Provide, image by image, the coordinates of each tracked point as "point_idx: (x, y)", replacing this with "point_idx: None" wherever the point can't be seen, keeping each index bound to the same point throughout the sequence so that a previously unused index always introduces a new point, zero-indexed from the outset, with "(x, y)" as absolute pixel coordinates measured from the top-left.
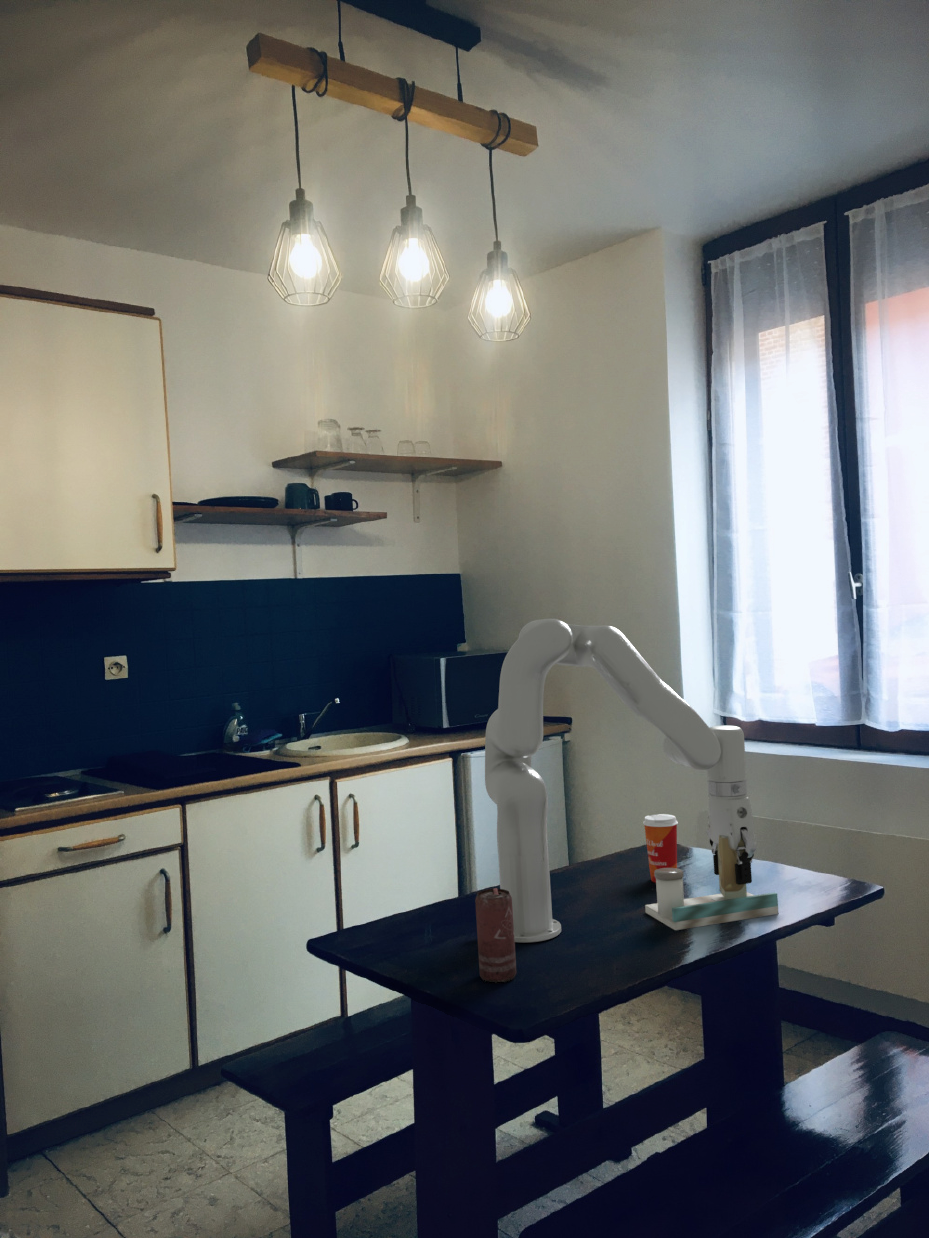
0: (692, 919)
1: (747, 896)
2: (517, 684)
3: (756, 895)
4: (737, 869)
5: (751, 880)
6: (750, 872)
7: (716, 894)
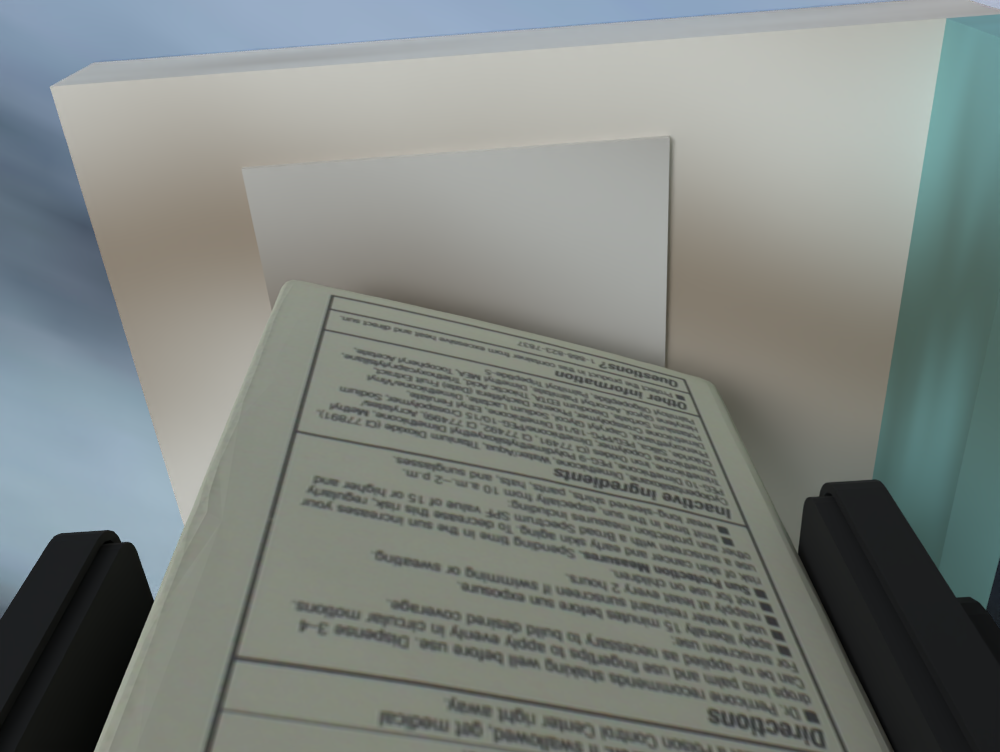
0: None
1: (416, 203)
2: None
3: (989, 403)
4: None
5: (883, 494)
6: (949, 615)
7: (177, 483)
